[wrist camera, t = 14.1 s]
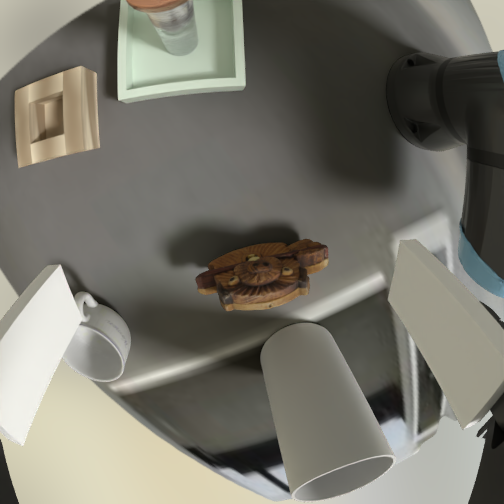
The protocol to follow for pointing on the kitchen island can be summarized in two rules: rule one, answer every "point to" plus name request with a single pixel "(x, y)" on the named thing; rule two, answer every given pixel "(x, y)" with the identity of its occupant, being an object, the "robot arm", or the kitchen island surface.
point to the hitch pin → (171, 23)
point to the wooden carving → (263, 274)
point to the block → (57, 116)
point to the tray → (181, 67)
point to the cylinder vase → (321, 416)
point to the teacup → (98, 341)
